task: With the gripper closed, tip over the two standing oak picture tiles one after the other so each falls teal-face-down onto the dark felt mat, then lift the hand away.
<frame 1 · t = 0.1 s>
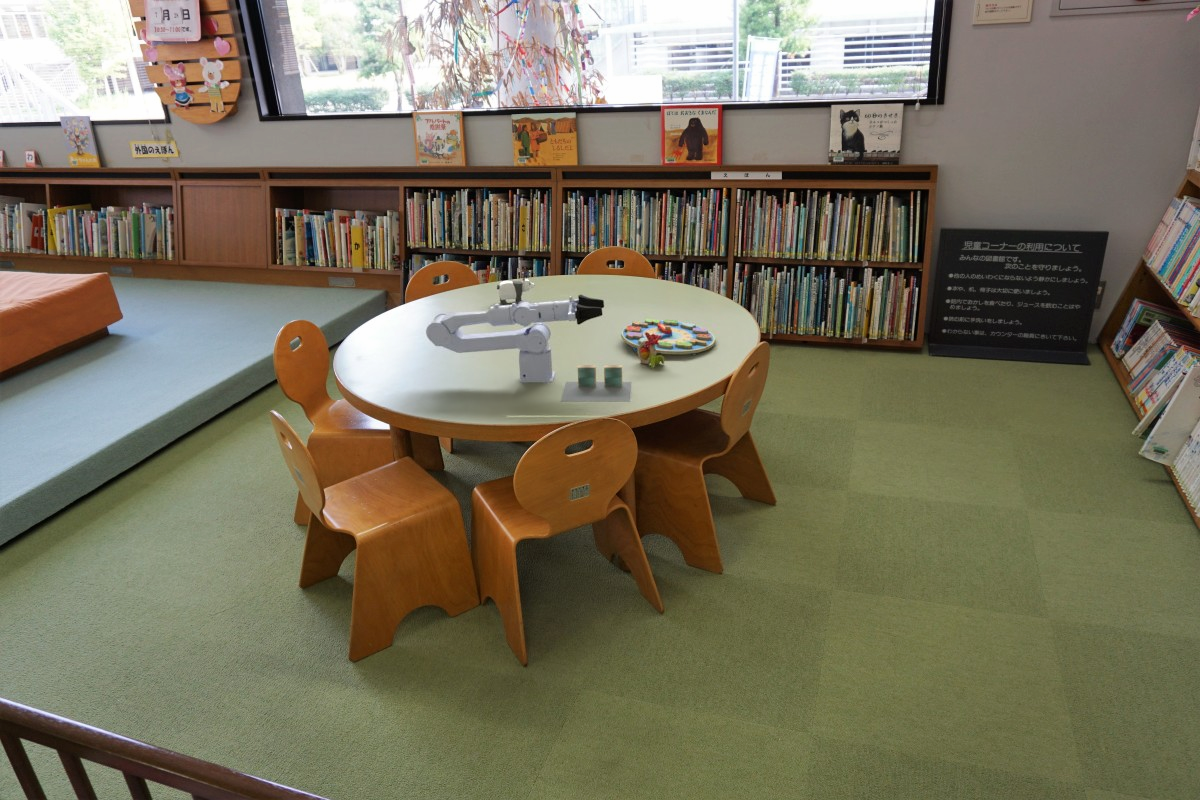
hand: (603, 307, 229), 22 cm above the table, tool horizontal, fingers open, 7 cm apart
right oak tile: (613, 385, 231), resting on felt mat
left oak tile: (587, 385, 231), resting on felt mat
shape sorting clock: (667, 344, 265), on the table
bird rattle: (649, 366, 246), on the table
giant panda: (515, 303, 312), on the table
felt mat: (596, 392, 228), on the table
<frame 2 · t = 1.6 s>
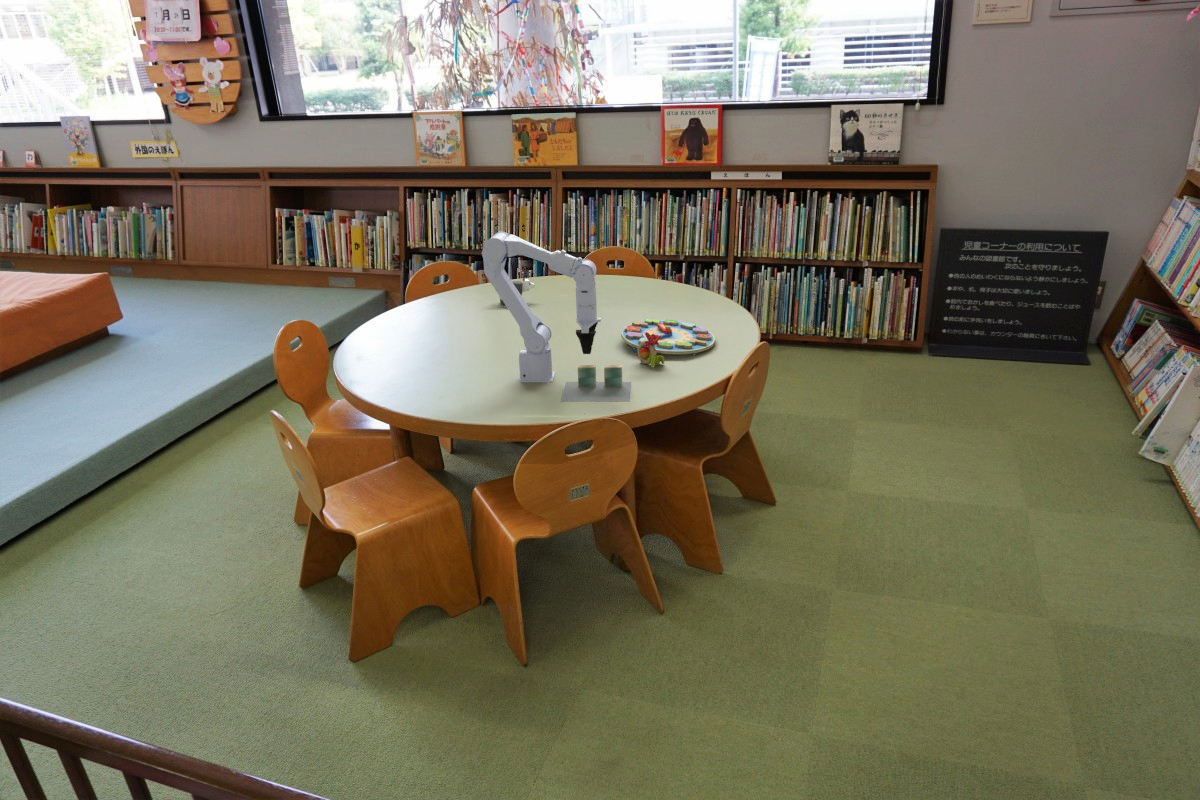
hand: (587, 349, 233), 9 cm above the table, tool pointing down, fingers open, 7 cm apart
nothing on the table moved.
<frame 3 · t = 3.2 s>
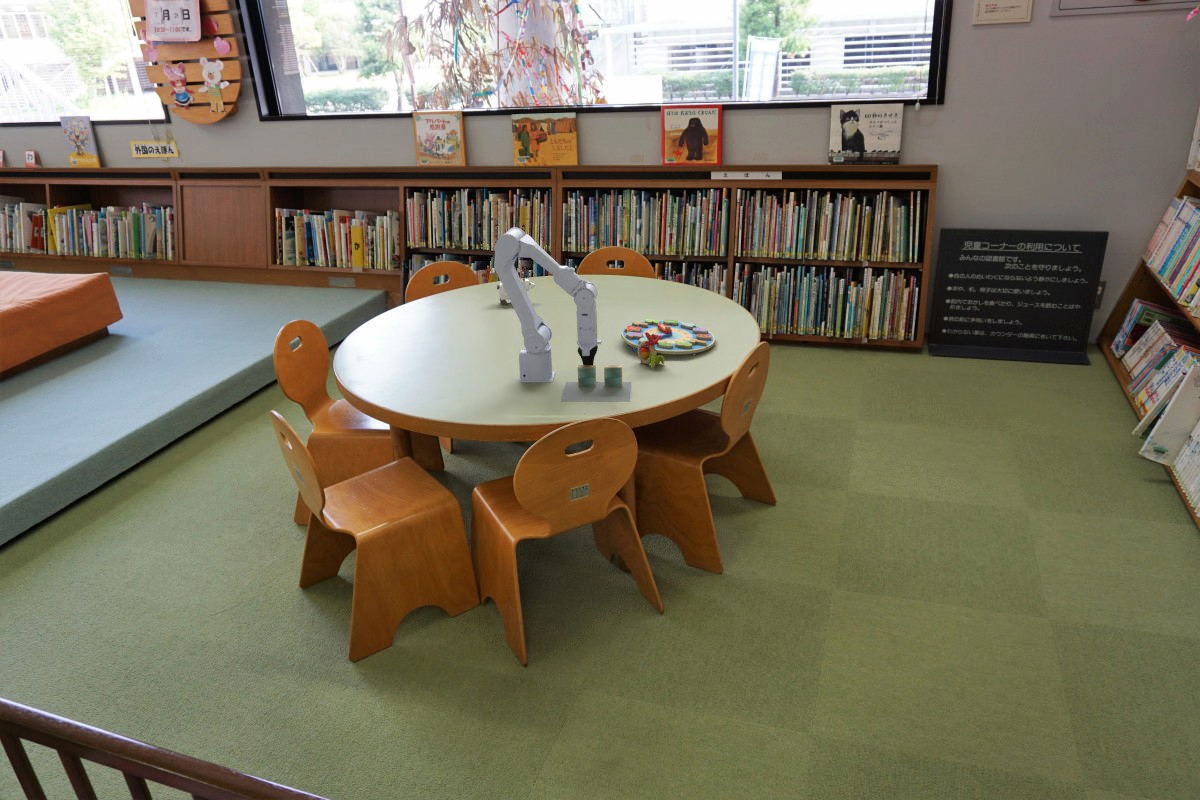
hand: (588, 370, 236), 3 cm above the table, tool pointing down, fingers closed
nothing on the table moved.
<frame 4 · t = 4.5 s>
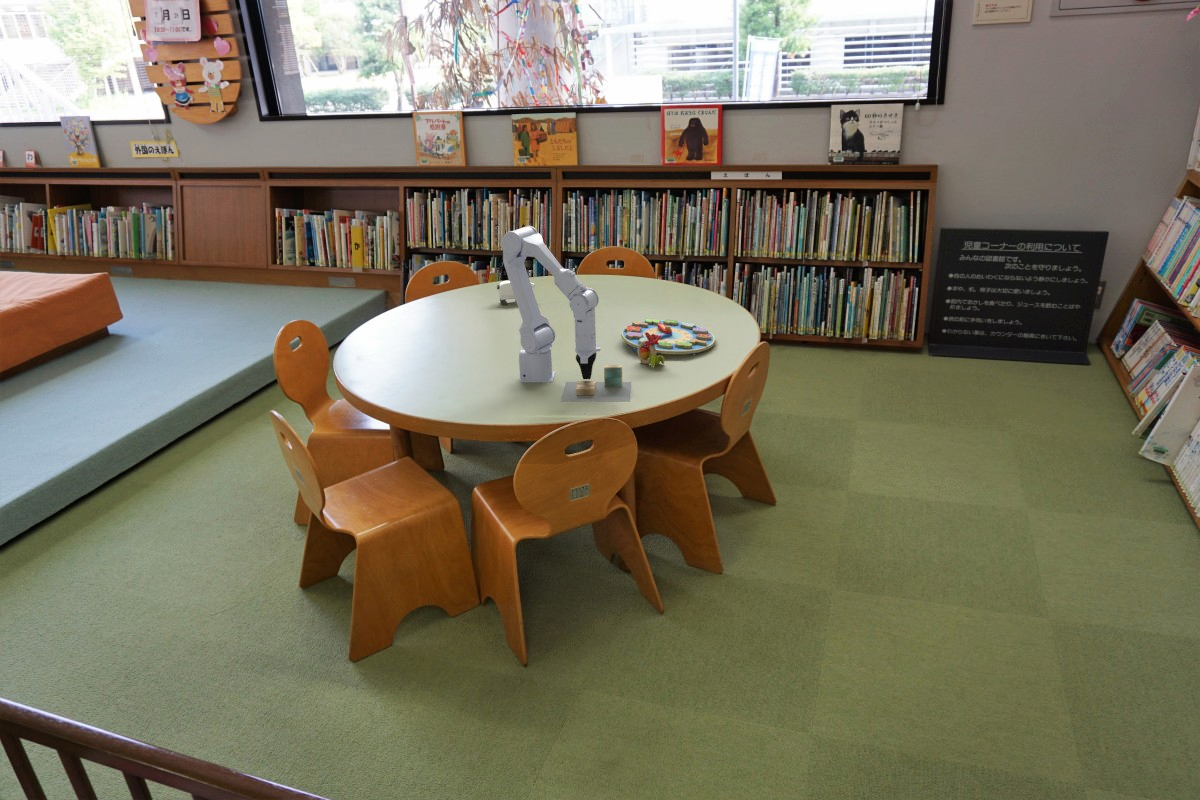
hand: (587, 378, 230), 3 cm above the table, tool pointing down, fingers closed
left oak tile: (587, 383, 230), point 1 cm above the table, tilted 90°, touching felt mat
everything else where it was.
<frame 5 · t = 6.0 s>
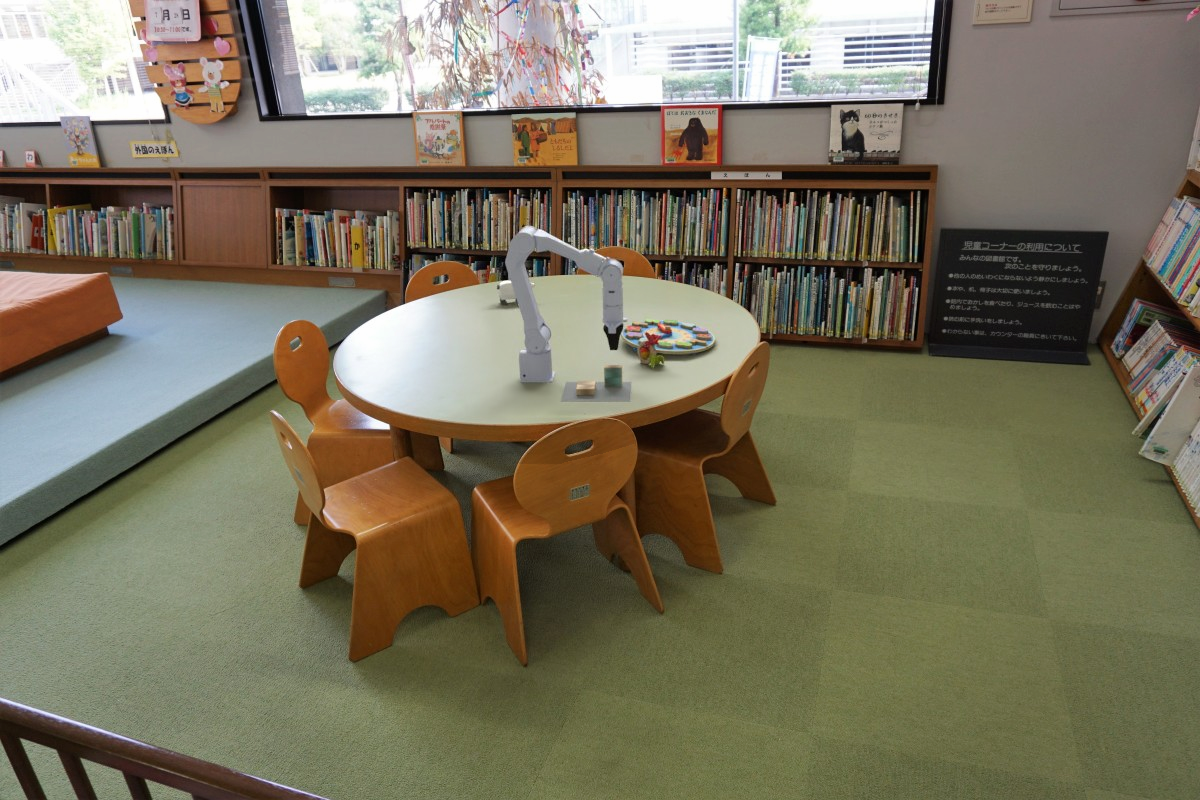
hand: (613, 349, 233), 9 cm above the table, tool pointing down, fingers closed
nothing on the table moved.
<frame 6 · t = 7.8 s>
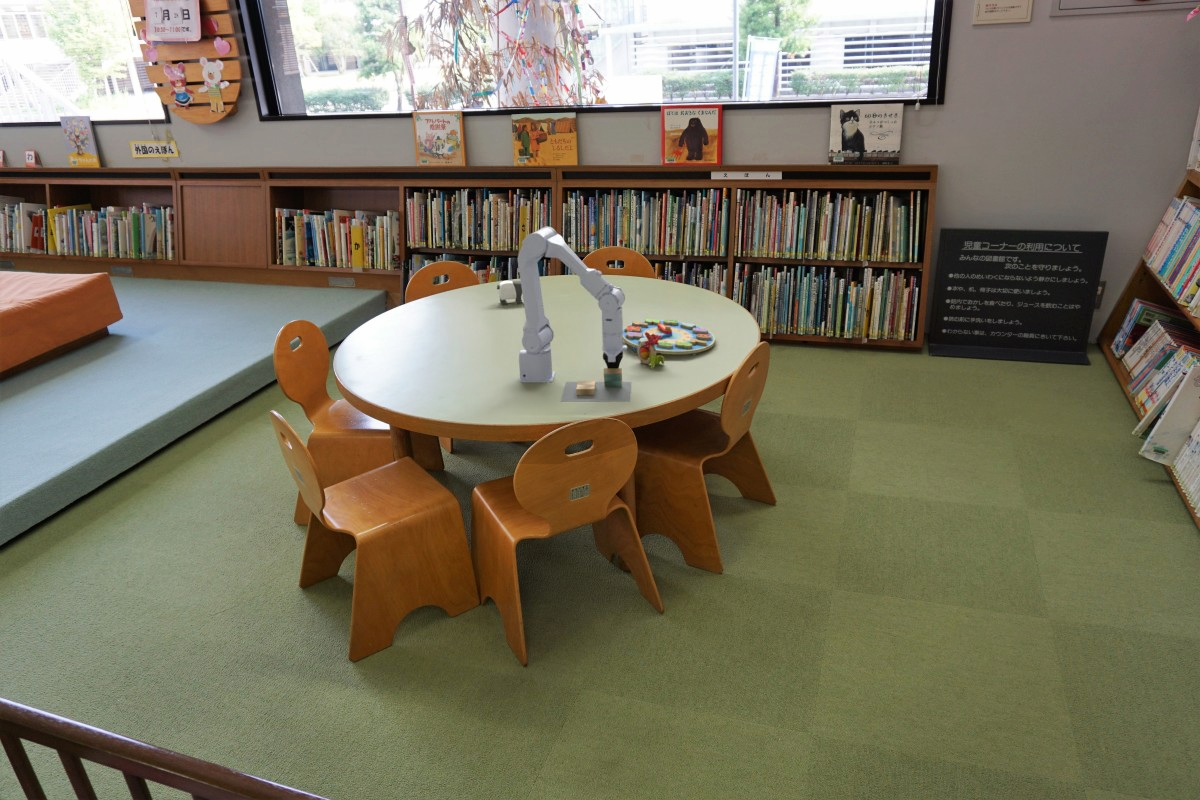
hand: (613, 377, 230), 3 cm above the table, tool pointing down, fingers closed
right oak tile: (613, 384, 231), point 1 cm above the table, tilted 27°, touching felt mat
everything else where it was.
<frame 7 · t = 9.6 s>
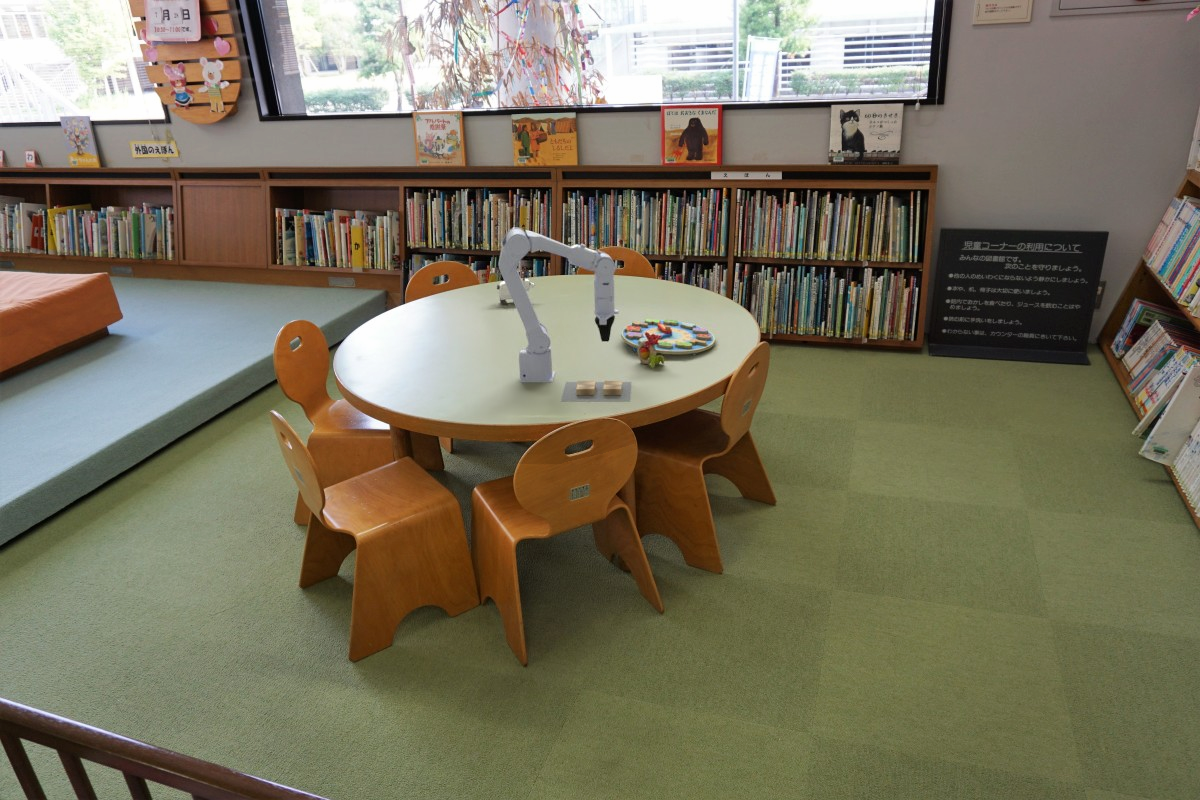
hand: (605, 340, 238), 10 cm above the table, tool pointing down, fingers closed
right oak tile: (613, 383, 230), point 1 cm above the table, tilted 90°, touching felt mat
everything else where it was.
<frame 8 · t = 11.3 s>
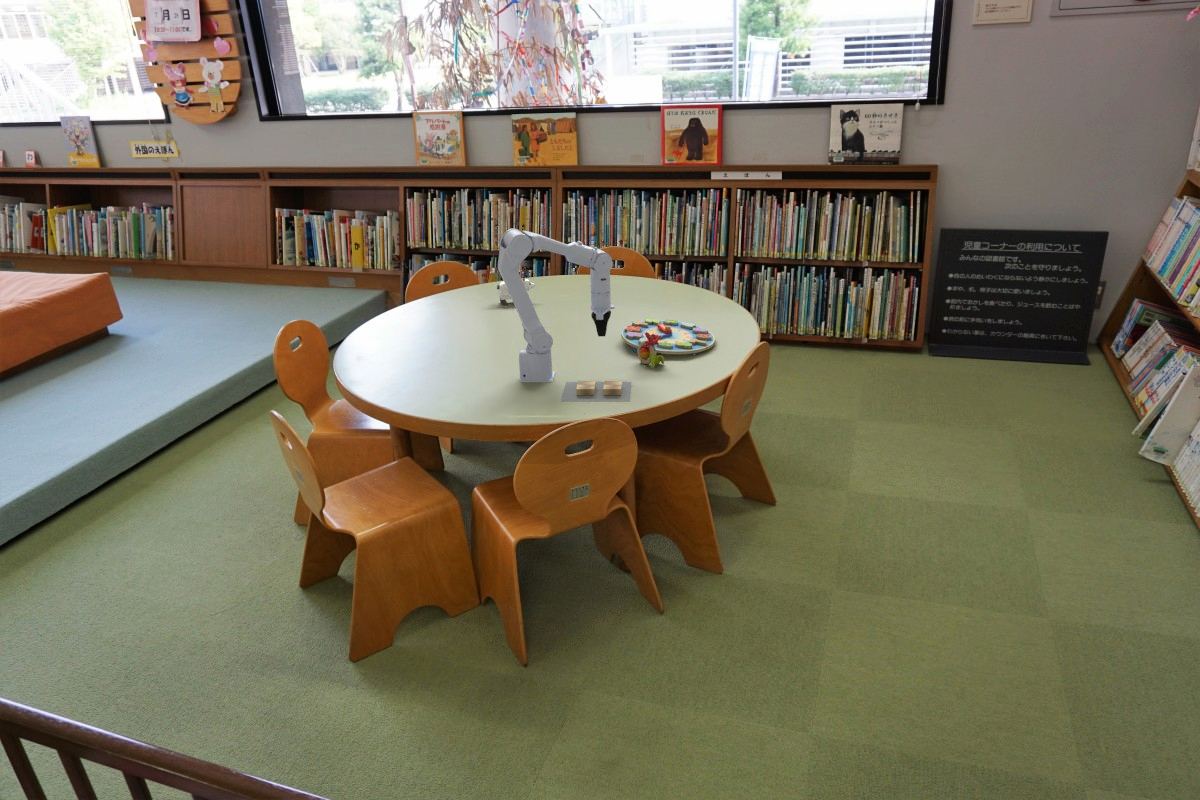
hand: (601, 335, 241), 10 cm above the table, tool pointing down, fingers closed
nothing on the table moved.
at the end: left oak tile tilted 90°; right oak tile tilted 90°; left oak tile inside the target area (4.2 cm from its centre), point 1.4 cm above the table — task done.
